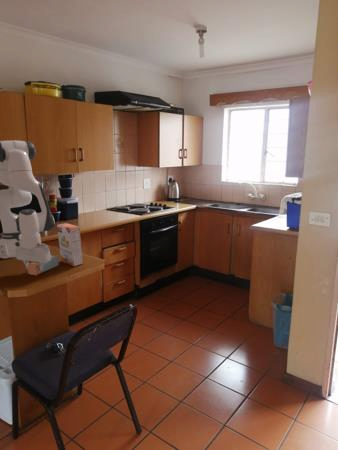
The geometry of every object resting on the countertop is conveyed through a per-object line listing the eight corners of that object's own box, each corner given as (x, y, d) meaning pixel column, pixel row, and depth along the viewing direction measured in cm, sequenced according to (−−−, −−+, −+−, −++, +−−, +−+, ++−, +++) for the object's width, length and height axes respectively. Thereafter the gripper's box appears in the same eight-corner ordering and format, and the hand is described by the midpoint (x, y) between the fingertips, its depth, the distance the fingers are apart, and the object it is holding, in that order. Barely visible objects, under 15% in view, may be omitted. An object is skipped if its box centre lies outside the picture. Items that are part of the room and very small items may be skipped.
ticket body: (34, 271, 177) (33, 261, 176) (51, 264, 188) (50, 254, 187) (42, 272, 175) (41, 262, 174) (58, 264, 186) (57, 255, 185)
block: (28, 274, 174) (27, 264, 172) (34, 271, 177) (33, 261, 176) (36, 275, 171) (34, 265, 170) (42, 272, 175) (40, 262, 174)
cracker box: (60, 261, 191) (56, 224, 187) (70, 259, 196) (66, 222, 191) (73, 267, 182) (69, 228, 177) (83, 264, 186) (79, 225, 181)
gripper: (52, 242, 169) (55, 269, 172) (21, 239, 178) (24, 265, 181) (42, 246, 164) (46, 273, 167) (11, 242, 172) (14, 269, 175)
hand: (34, 269), depth 174 cm, fingers open, 7 cm apart
